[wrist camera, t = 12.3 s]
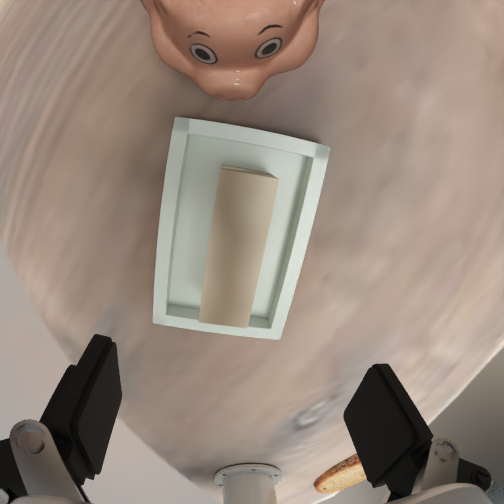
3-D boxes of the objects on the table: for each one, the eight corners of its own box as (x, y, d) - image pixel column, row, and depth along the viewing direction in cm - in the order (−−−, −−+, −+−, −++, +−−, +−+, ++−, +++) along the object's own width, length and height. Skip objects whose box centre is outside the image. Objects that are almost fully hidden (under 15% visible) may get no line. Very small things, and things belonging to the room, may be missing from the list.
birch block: (269, 172, 24) (279, 179, 19) (243, 298, 28) (247, 328, 23) (221, 164, 24) (220, 168, 19) (202, 292, 28) (198, 322, 23)
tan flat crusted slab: (311, 489, 50) (314, 501, 46) (317, 458, 43) (322, 474, 40) (382, 469, 50) (387, 481, 47) (402, 433, 44) (409, 447, 40)
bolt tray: (276, 325, 30) (279, 339, 28) (157, 309, 29) (152, 323, 26) (321, 146, 24) (330, 147, 22) (180, 119, 22) (175, 116, 20)
